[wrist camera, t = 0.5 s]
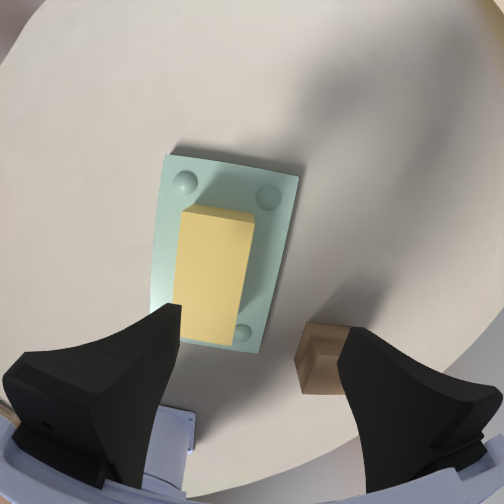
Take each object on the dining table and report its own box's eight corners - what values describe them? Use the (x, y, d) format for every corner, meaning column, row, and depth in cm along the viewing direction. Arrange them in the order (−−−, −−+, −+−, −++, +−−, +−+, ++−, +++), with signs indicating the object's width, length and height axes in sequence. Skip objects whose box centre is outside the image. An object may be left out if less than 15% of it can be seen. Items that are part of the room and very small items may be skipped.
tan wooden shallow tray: (47, 460, 33) (42, 470, 30) (-5, 426, 32) (-11, 434, 28) (16, 414, 28) (8, 426, 24) (-35, 375, 26) (-43, 383, 23)
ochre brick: (233, 318, 20) (231, 346, 17) (181, 309, 20) (170, 335, 17) (253, 213, 18) (255, 223, 15) (193, 203, 18) (181, 211, 14)
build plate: (257, 346, 22) (258, 355, 21) (153, 328, 22) (149, 335, 20) (296, 176, 18) (299, 176, 17) (168, 155, 18) (164, 154, 17)
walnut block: (334, 361, 23) (348, 394, 19) (293, 359, 23) (302, 394, 19) (349, 326, 22) (367, 357, 18) (306, 321, 22) (318, 354, 17)
